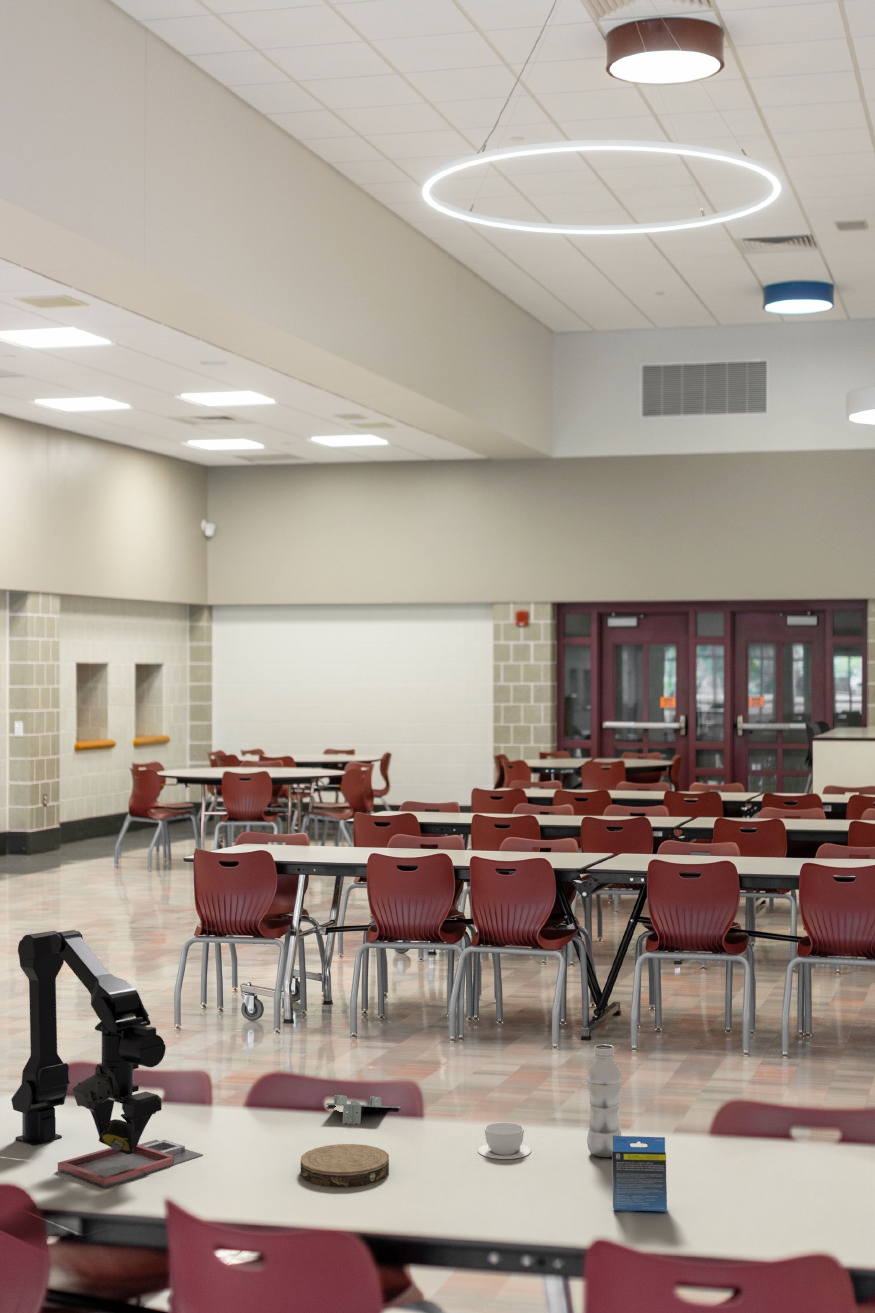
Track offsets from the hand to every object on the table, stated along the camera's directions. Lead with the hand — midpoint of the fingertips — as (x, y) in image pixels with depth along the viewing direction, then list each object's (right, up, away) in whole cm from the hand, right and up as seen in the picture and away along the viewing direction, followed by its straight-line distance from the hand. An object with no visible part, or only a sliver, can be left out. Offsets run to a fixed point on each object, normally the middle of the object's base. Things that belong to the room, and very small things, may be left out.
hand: (117, 1144), depth 265 cm
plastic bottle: (+89, -4, +6) cm, 89 cm away
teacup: (+70, -5, +8) cm, 71 cm away
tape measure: (0, -2, 0) cm, 2 cm away
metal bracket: (+50, -4, +30) cm, 58 cm away
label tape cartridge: (+92, -4, -22) cm, 94 cm away
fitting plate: (+2, -4, +2) cm, 5 cm away
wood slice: (+41, -5, -3) cm, 42 cm away
